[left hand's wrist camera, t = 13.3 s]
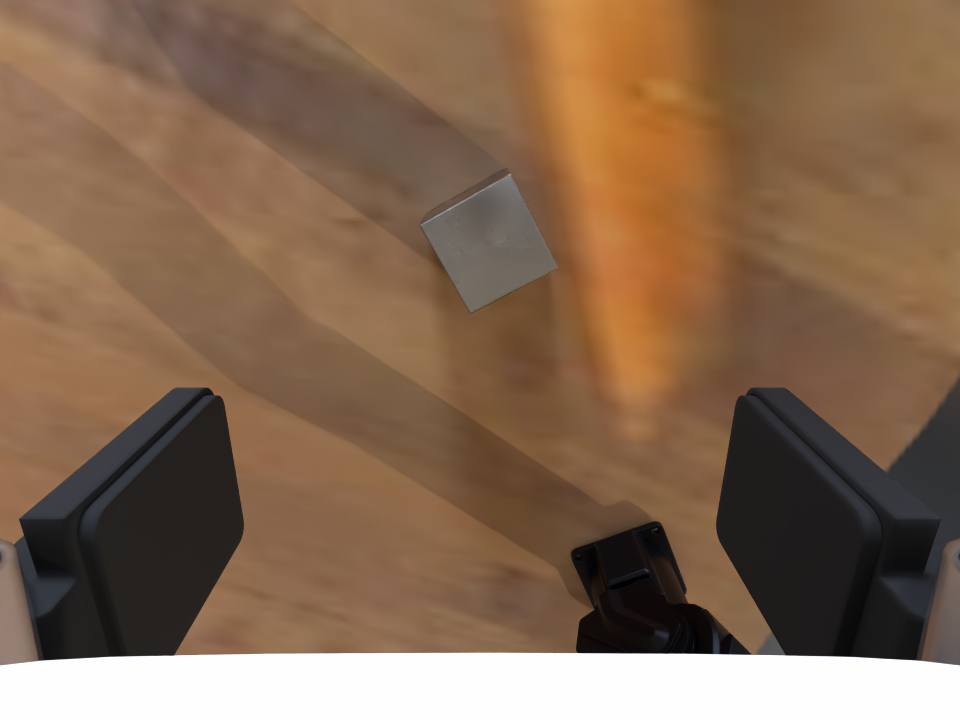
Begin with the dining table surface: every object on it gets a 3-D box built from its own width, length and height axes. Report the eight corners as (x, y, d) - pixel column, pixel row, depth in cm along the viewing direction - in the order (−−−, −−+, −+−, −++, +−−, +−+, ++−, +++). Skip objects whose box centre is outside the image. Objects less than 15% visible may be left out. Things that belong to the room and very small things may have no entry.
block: (470, 292, 35) (470, 314, 31) (426, 212, 34) (418, 225, 29) (548, 250, 34) (559, 267, 30) (506, 167, 33) (511, 173, 28)
